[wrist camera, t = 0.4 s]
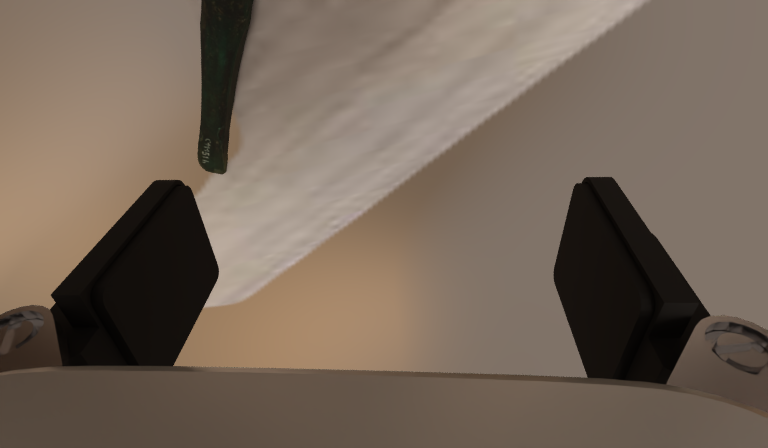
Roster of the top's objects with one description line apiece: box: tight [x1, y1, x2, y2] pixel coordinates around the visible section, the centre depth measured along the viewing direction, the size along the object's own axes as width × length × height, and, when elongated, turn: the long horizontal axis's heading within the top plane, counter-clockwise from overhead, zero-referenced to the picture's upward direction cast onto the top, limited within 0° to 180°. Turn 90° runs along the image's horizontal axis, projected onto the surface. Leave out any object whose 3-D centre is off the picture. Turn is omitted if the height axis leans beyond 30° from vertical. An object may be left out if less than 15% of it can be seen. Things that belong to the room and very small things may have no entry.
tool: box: [198, 0, 253, 174], centre depth 35 cm, size 28×6×7 cm, turn 157°
